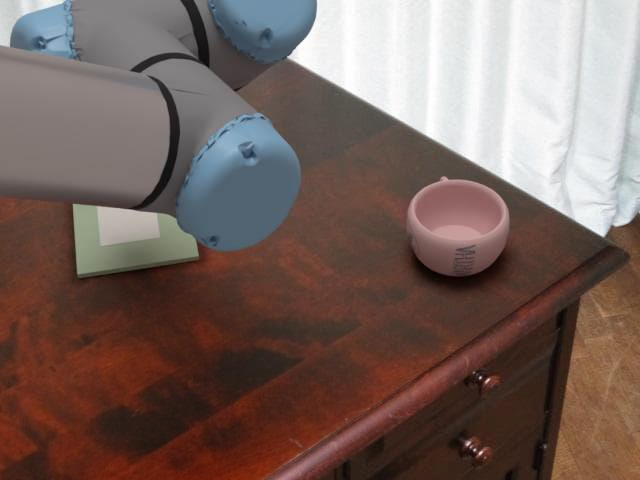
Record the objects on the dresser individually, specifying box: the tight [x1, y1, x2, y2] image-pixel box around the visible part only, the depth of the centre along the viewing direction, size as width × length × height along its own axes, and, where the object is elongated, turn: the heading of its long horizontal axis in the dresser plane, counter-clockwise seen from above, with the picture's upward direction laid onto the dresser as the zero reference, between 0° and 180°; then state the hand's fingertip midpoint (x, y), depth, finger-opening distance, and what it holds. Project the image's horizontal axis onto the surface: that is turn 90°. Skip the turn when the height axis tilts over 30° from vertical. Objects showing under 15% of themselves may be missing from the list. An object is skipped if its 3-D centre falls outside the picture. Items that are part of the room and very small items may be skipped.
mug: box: [405, 176, 511, 277], centre depth 113 cm, size 12×10×6 cm
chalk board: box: [72, 204, 200, 279], centre depth 121 cm, size 22×12×1 cm, turn 11°
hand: (108, 138), depth 108 cm, fingers closed on eraser, 3 cm apart
